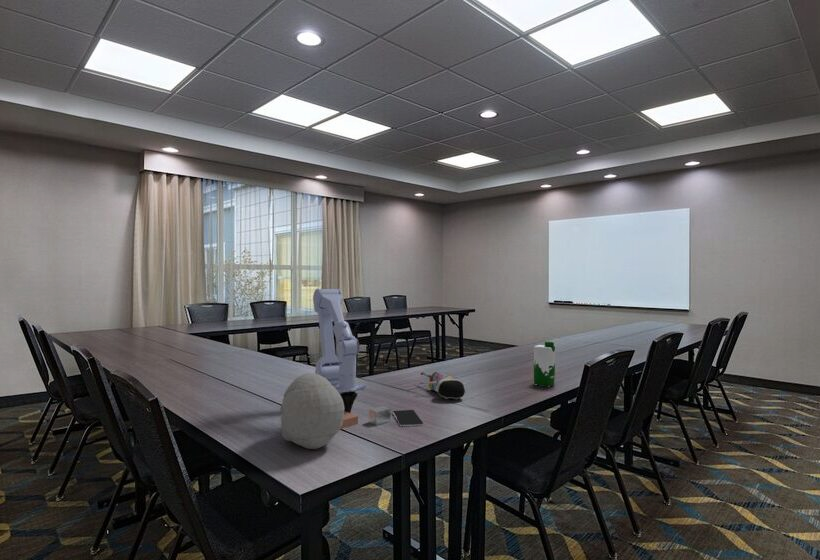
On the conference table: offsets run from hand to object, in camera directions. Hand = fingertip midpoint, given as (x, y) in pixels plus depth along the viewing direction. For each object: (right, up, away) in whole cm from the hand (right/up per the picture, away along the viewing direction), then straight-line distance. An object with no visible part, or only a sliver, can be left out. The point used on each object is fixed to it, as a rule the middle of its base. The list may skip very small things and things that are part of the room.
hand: (346, 413), depth 149 cm
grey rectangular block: (+12, -2, -4) cm, 12 cm away
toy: (+36, -2, +36) cm, 51 cm away
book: (-3, -2, -4) cm, 5 cm away
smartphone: (+21, -2, 0) cm, 21 cm away
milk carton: (+84, -3, +52) cm, 99 cm away
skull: (-9, -2, -21) cm, 23 cm away
